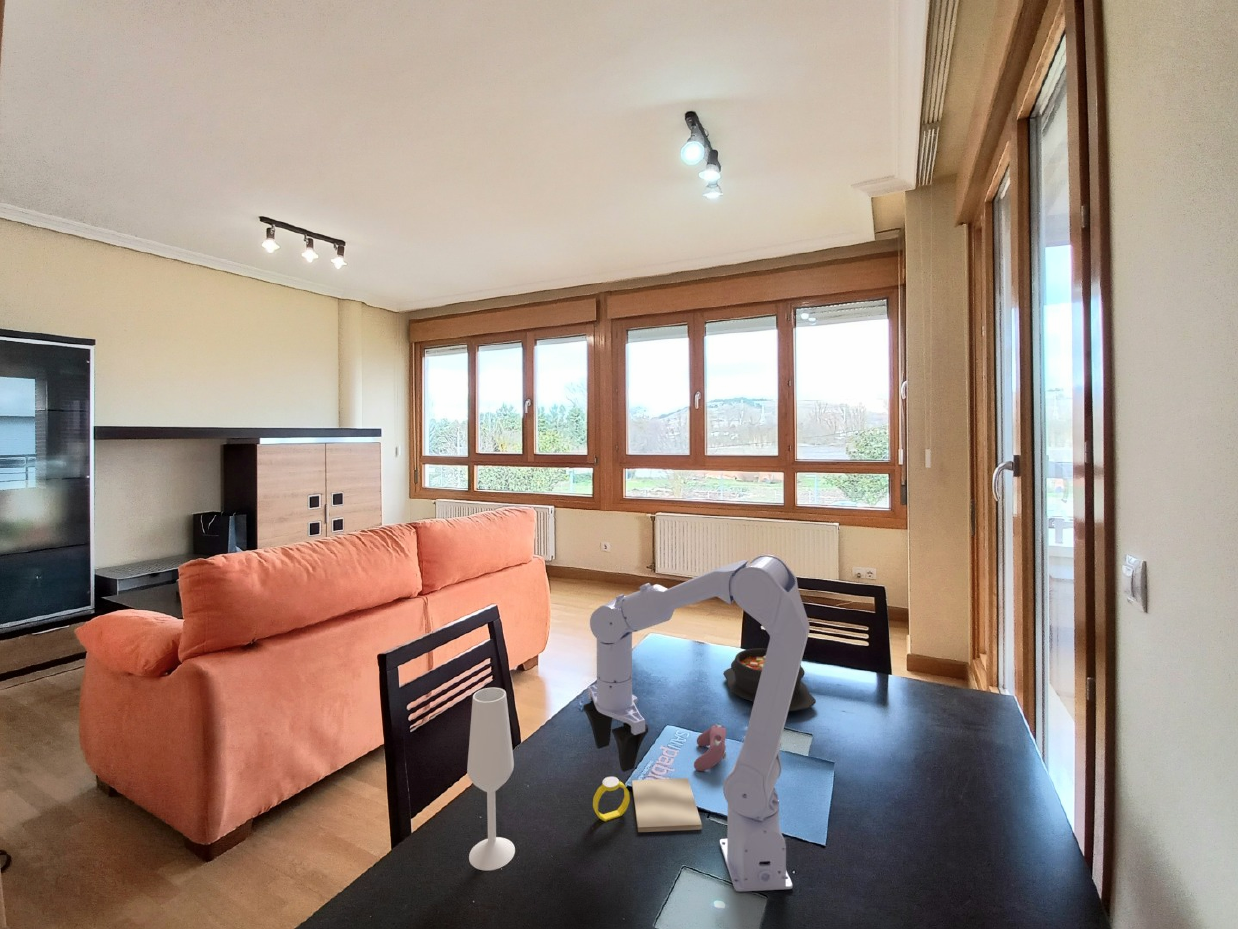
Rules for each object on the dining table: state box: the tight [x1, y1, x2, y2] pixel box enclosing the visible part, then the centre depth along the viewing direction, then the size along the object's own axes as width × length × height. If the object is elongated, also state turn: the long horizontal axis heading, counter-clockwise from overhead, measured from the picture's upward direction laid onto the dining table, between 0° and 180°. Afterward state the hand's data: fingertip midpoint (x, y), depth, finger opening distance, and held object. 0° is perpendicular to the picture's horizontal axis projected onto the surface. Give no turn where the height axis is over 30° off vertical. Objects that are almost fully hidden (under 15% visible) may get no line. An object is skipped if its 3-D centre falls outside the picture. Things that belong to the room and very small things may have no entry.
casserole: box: [723, 647, 817, 712], centre depth 134 cm, size 25×19×8 cm
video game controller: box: [693, 723, 727, 772], centre depth 107 cm, size 10×5×7 cm, turn 169°
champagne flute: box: [466, 687, 516, 871], centre depth 83 cm, size 7×7×24 cm
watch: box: [592, 776, 631, 822], centre depth 91 cm, size 6×3×6 cm, turn 115°
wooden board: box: [631, 777, 703, 833], centre depth 94 cm, size 12×10×1 cm
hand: (614, 757), depth 91 cm, fingers open, 7 cm apart
